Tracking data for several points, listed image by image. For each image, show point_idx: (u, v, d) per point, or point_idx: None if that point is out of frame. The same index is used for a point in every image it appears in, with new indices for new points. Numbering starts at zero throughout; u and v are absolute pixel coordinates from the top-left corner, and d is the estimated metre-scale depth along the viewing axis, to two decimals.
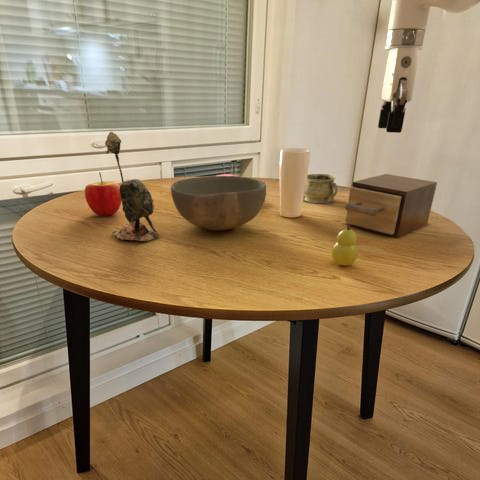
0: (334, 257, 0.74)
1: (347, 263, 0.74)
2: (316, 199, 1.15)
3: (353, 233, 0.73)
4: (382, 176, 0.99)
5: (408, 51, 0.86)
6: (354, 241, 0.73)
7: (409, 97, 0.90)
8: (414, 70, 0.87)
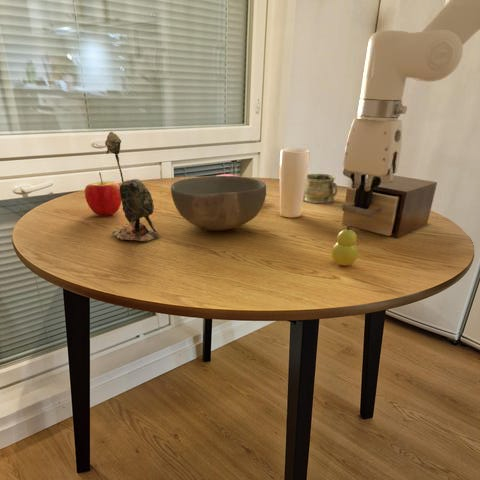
0: (334, 257, 0.74)
1: (347, 263, 0.74)
2: (316, 199, 1.15)
3: (353, 233, 0.73)
4: (382, 176, 0.99)
5: (399, 124, 0.78)
6: (354, 241, 0.73)
7: (396, 171, 0.83)
8: None
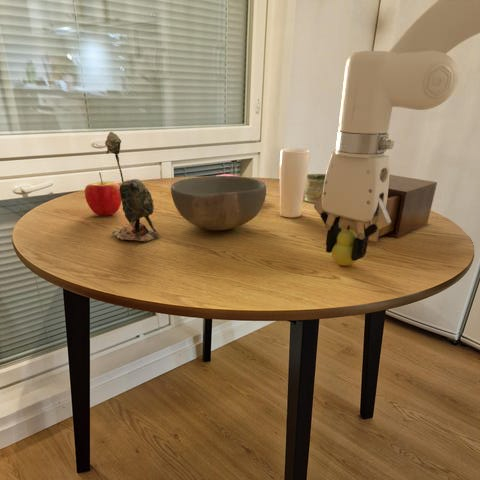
0: (334, 257, 0.74)
1: (347, 263, 0.74)
2: (316, 199, 1.15)
3: (353, 233, 0.73)
4: None
5: (385, 161, 0.65)
6: None
7: None
8: (388, 182, 0.67)
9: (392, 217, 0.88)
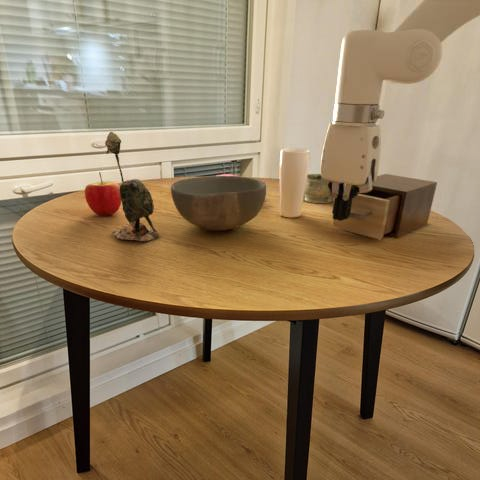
0: None
1: None
2: (316, 199, 1.15)
3: None
4: (382, 176, 0.99)
5: (377, 130, 0.73)
6: None
7: (375, 179, 0.78)
8: (379, 150, 0.75)
9: (397, 215, 0.89)
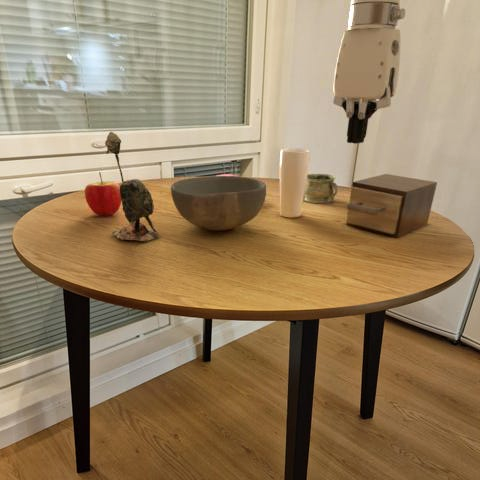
0: None
1: None
2: (316, 199, 1.15)
3: None
4: (382, 176, 0.99)
5: (396, 33, 0.67)
6: None
7: (394, 93, 0.72)
8: (399, 58, 0.69)
9: None
